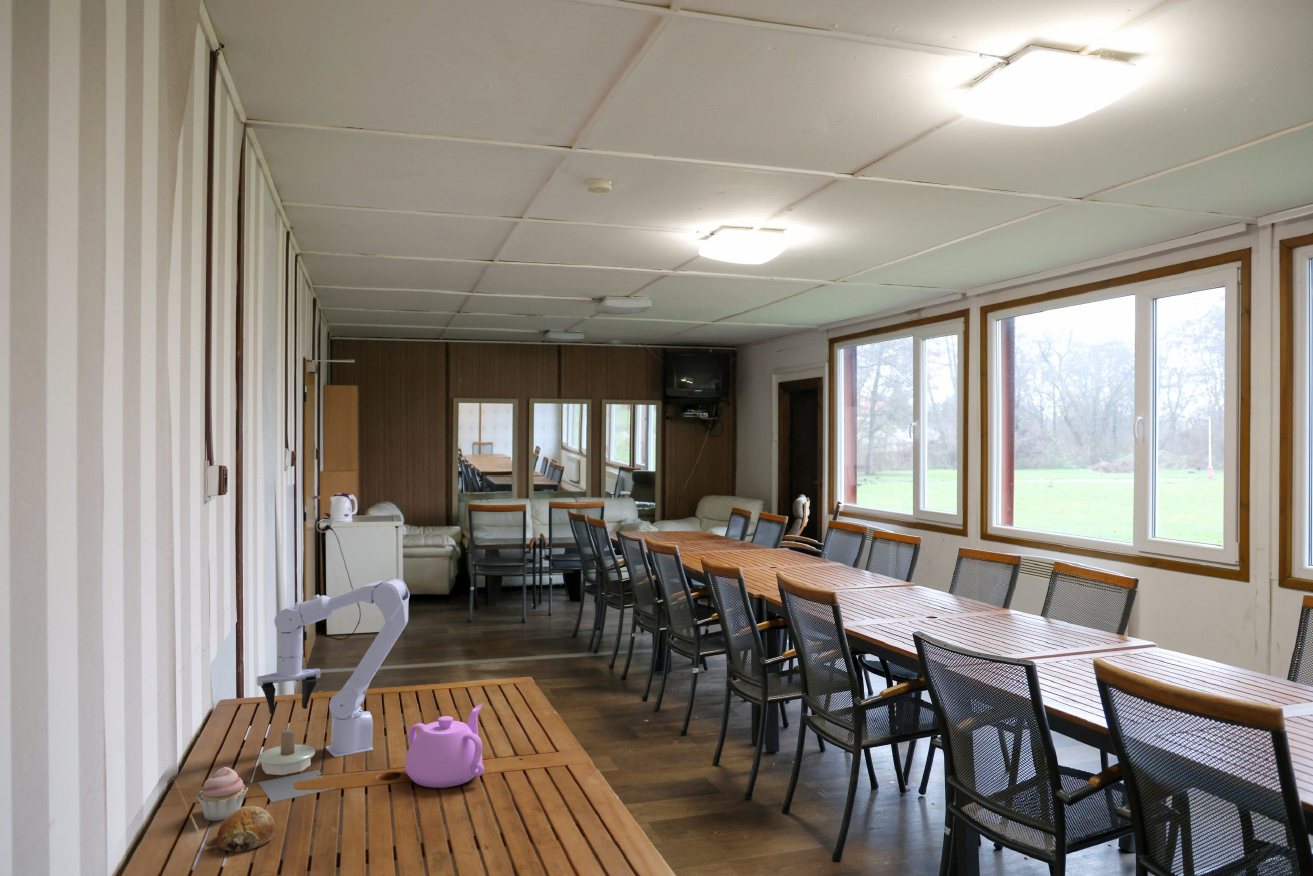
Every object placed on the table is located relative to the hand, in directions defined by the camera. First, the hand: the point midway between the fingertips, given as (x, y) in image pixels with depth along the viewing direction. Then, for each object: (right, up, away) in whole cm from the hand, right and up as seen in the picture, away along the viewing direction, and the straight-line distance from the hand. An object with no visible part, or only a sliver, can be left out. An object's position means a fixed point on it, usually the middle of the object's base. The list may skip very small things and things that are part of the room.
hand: (288, 710), depth 210 cm
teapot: (+44, -11, -14) cm, 47 cm away
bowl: (+5, -10, -12) cm, 16 cm away
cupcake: (+3, -10, -38) cm, 39 cm away
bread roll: (+13, -10, -48) cm, 51 cm away
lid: (+5, -7, -12) cm, 15 cm away
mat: (+12, -10, -23) cm, 27 cm away
